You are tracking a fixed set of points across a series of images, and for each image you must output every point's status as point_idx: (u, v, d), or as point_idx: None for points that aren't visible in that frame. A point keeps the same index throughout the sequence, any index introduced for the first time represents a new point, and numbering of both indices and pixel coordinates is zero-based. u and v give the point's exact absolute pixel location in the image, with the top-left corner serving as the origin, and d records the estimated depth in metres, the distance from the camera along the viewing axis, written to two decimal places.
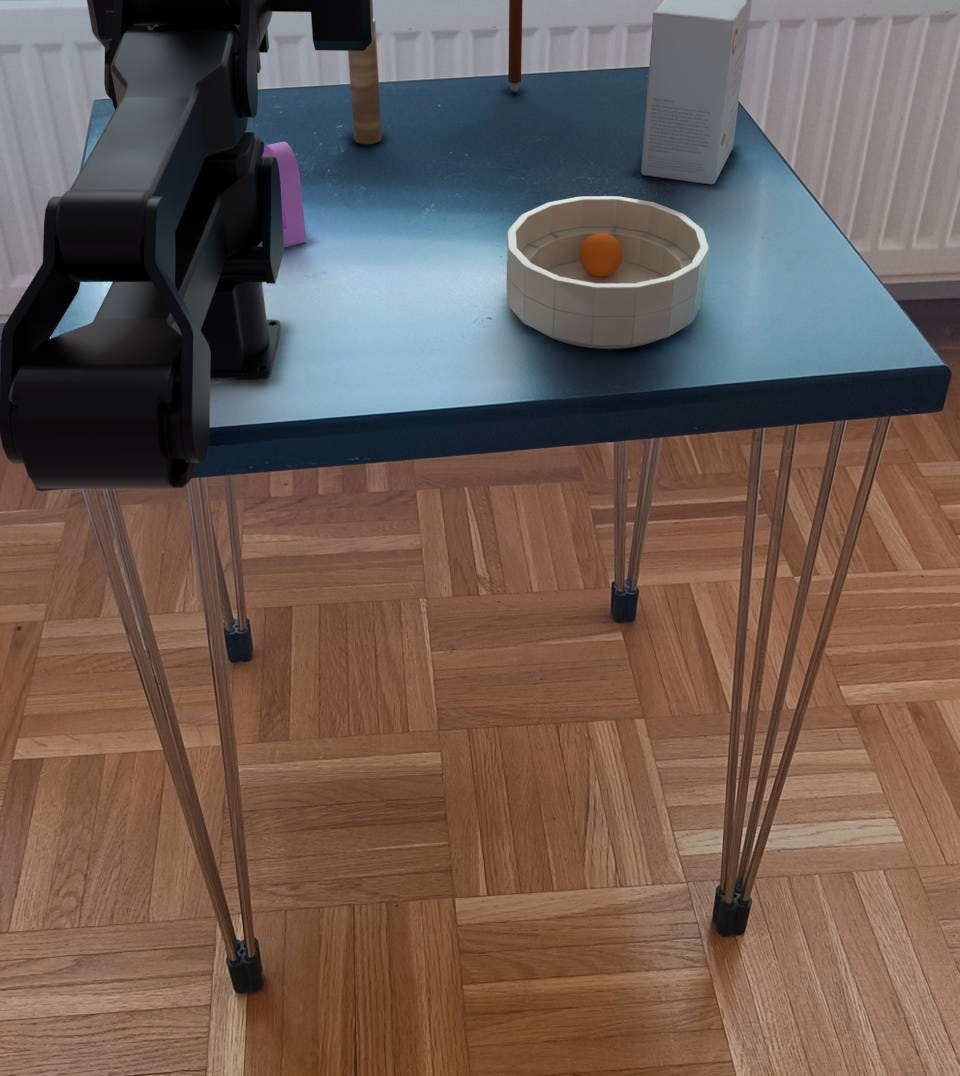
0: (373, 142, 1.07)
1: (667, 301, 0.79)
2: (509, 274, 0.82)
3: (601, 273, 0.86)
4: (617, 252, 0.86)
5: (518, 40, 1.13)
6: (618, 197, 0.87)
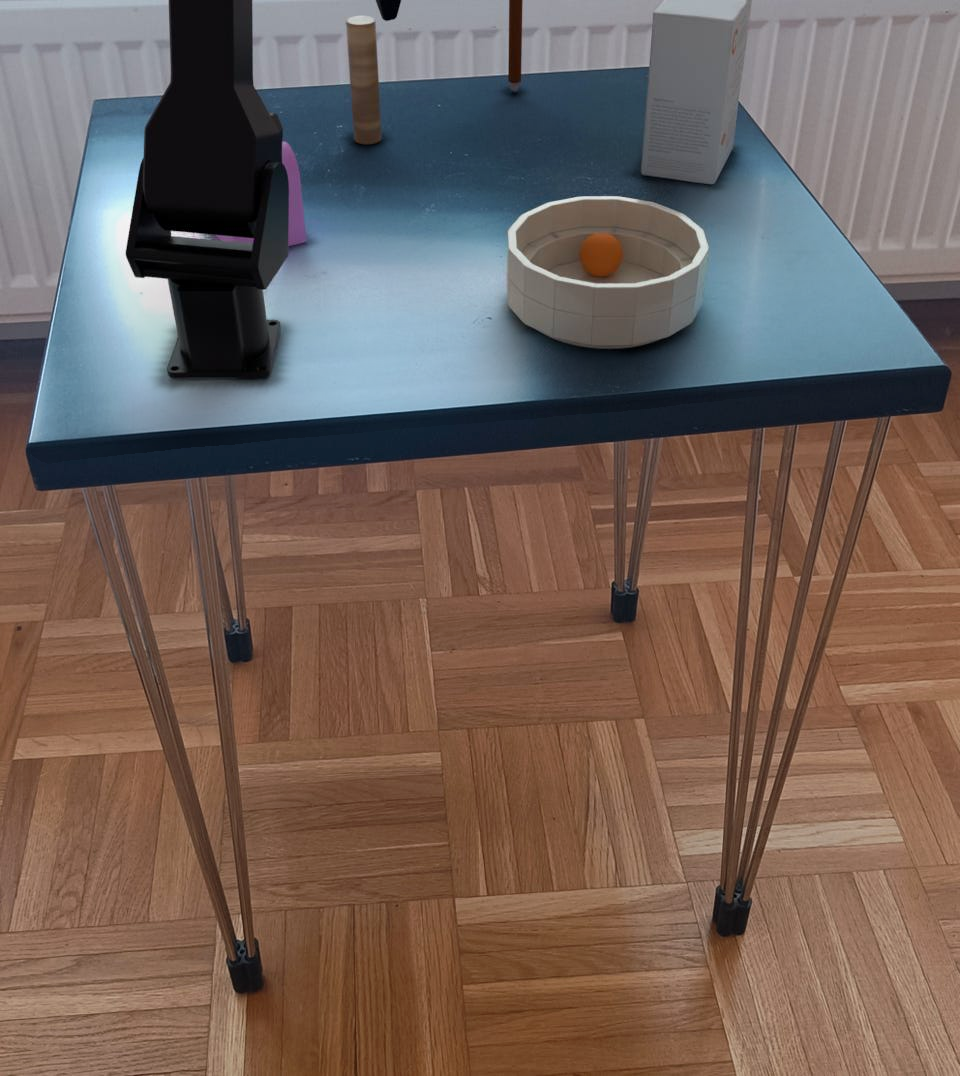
0: (373, 142, 1.07)
1: (667, 301, 0.79)
2: (509, 274, 0.82)
3: (601, 273, 0.86)
4: (617, 252, 0.86)
5: (518, 40, 1.13)
6: (618, 197, 0.87)
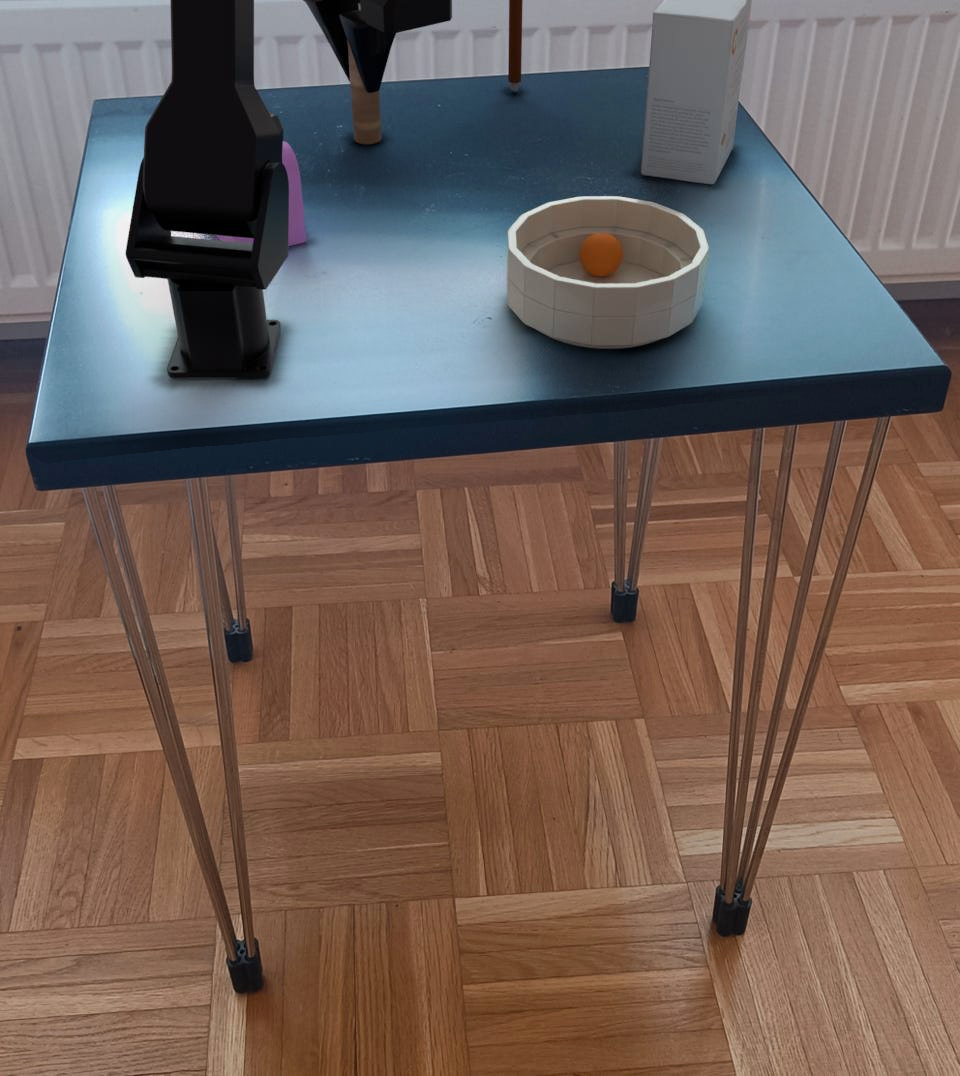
0: (373, 142, 1.07)
1: (667, 301, 0.79)
2: (509, 274, 0.82)
3: (601, 273, 0.86)
4: (617, 252, 0.86)
5: (518, 40, 1.13)
6: (618, 197, 0.87)
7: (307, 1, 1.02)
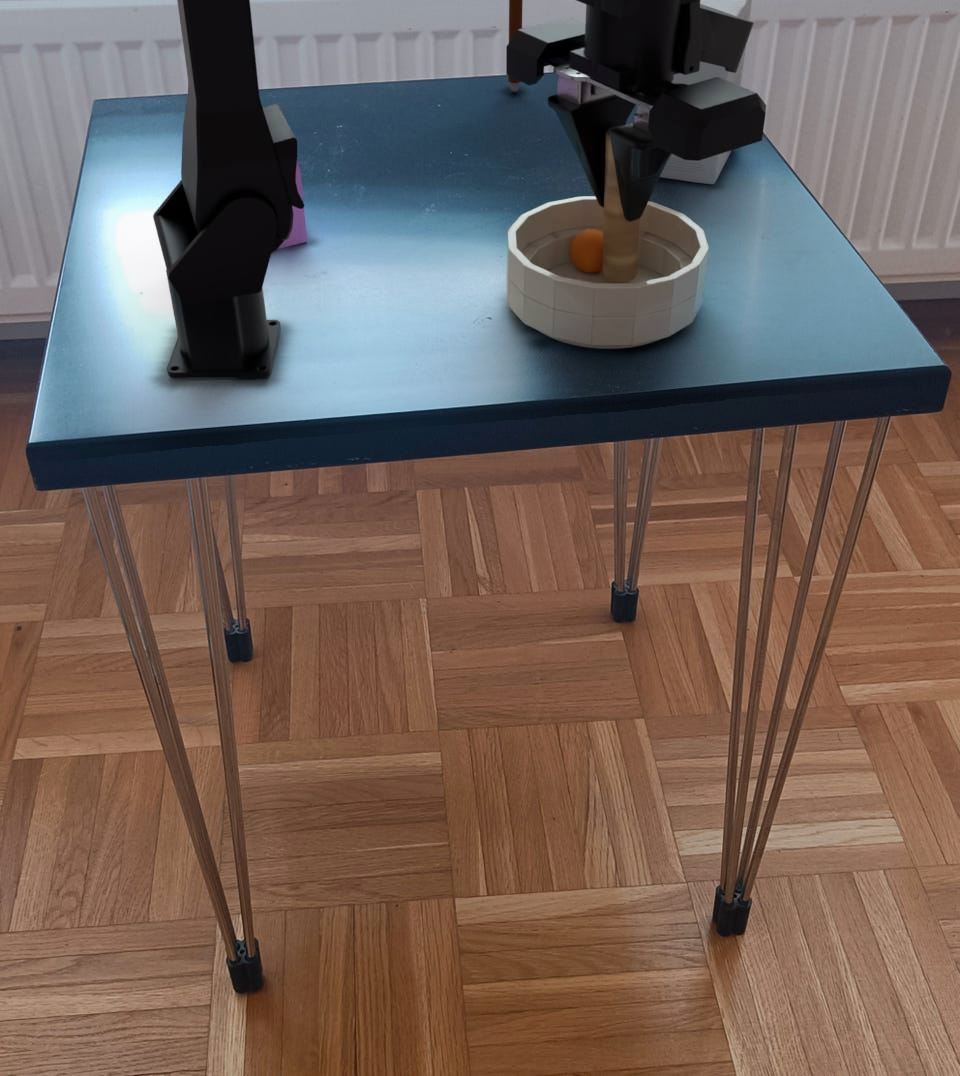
0: (629, 279, 0.85)
1: (667, 301, 0.79)
2: (509, 274, 0.82)
3: (594, 263, 0.86)
4: (602, 238, 0.86)
5: None
6: None
7: (557, 109, 0.80)
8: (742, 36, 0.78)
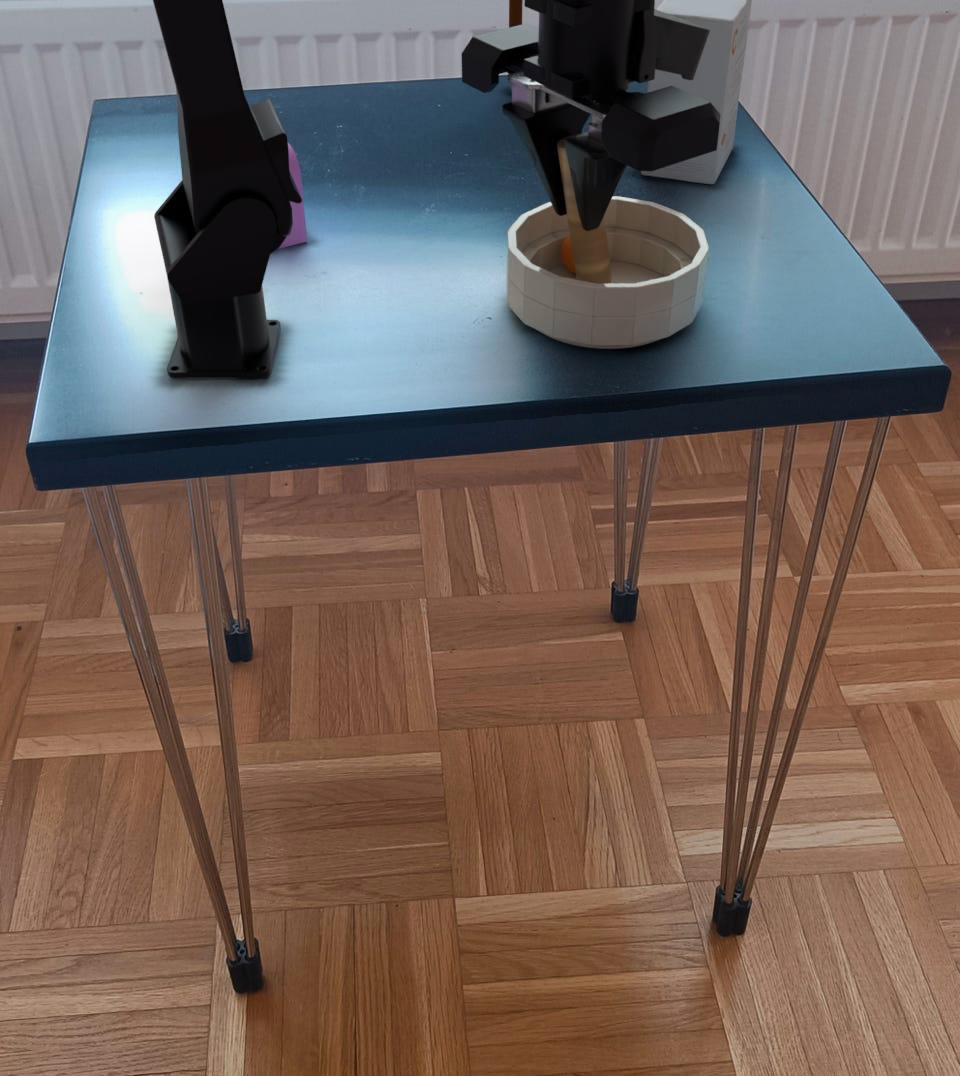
0: None
1: (667, 301, 0.79)
2: (509, 274, 0.82)
3: None
4: None
5: None
6: (618, 197, 0.87)
7: (512, 117, 0.79)
8: (698, 43, 0.77)
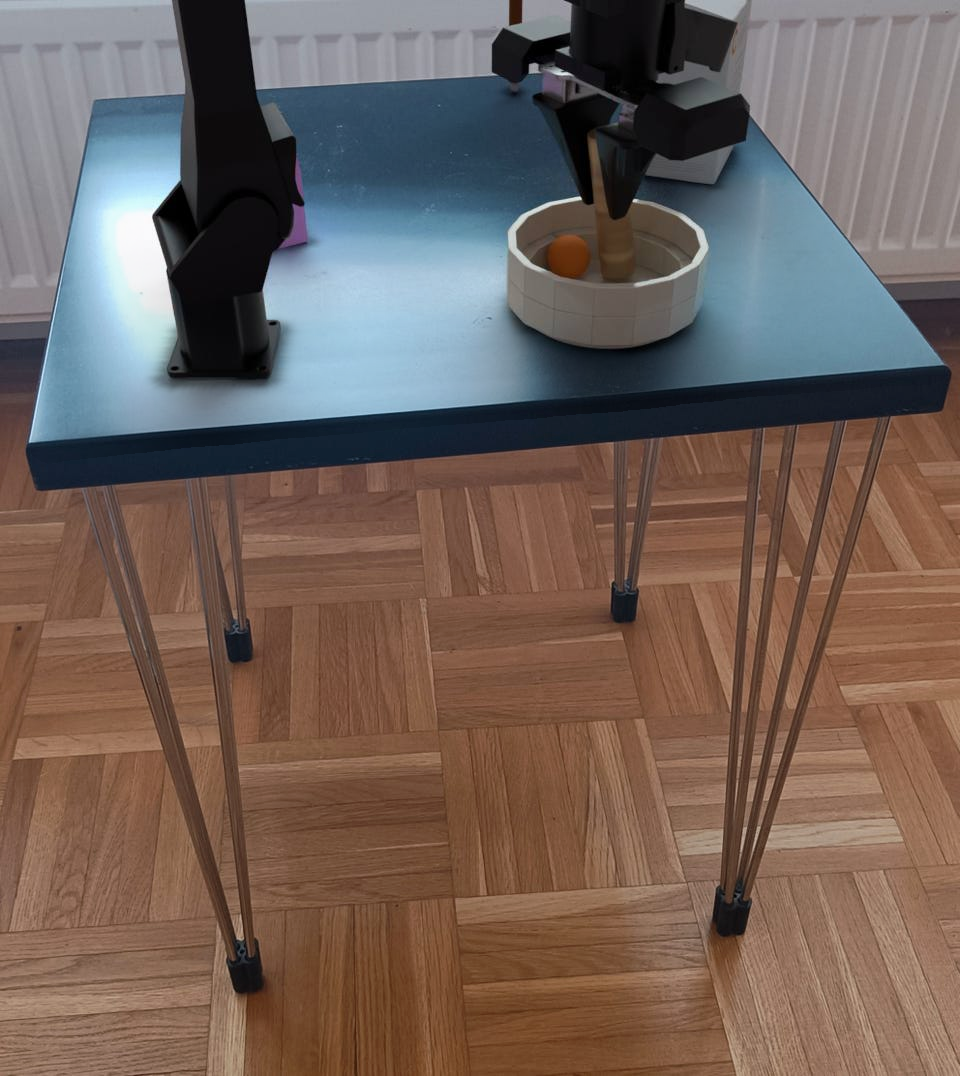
0: (621, 277, 0.86)
1: (667, 301, 0.79)
2: (509, 274, 0.82)
3: (574, 276, 0.86)
4: (568, 253, 0.85)
5: None
6: None
7: (542, 107, 0.80)
8: (726, 36, 0.78)
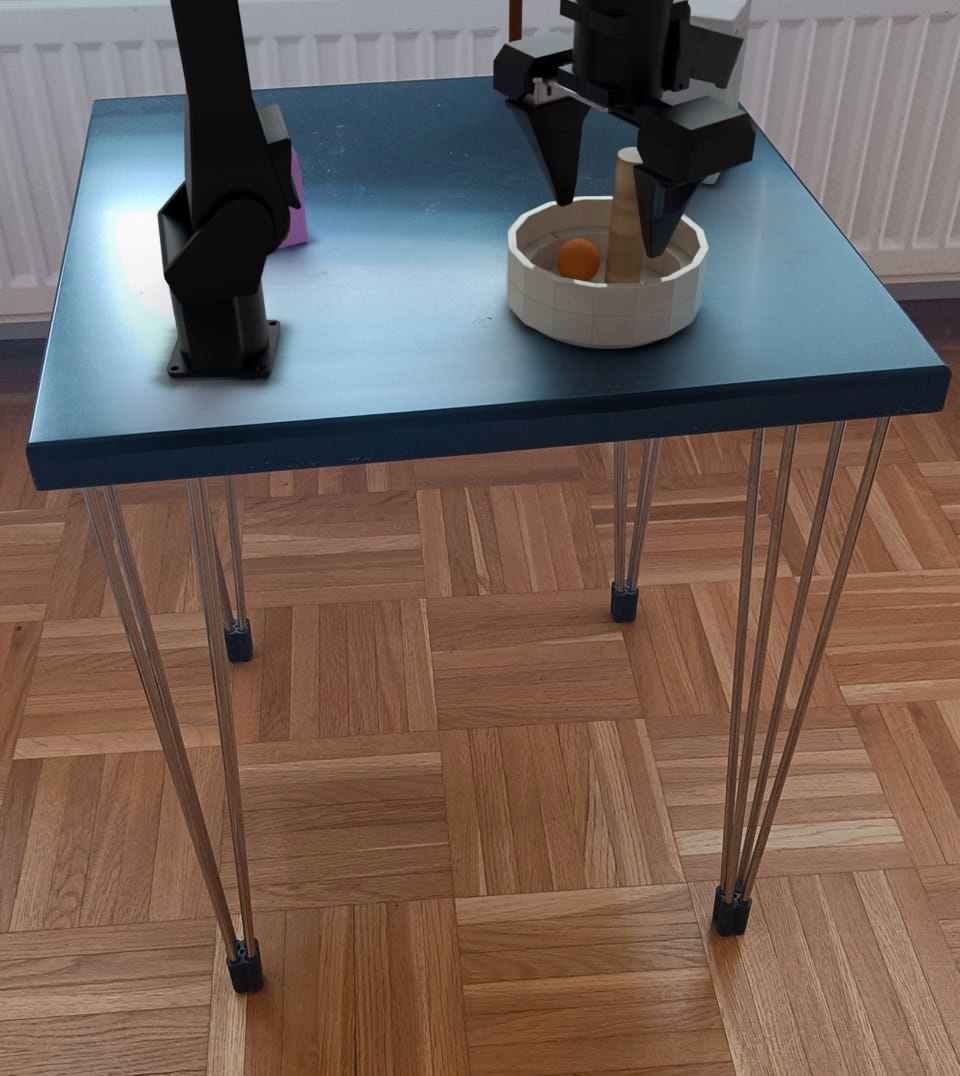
0: None
1: (667, 301, 0.79)
2: (509, 274, 0.82)
3: None
4: (581, 267, 0.85)
5: None
6: None
7: (514, 109, 0.81)
8: (732, 52, 0.77)
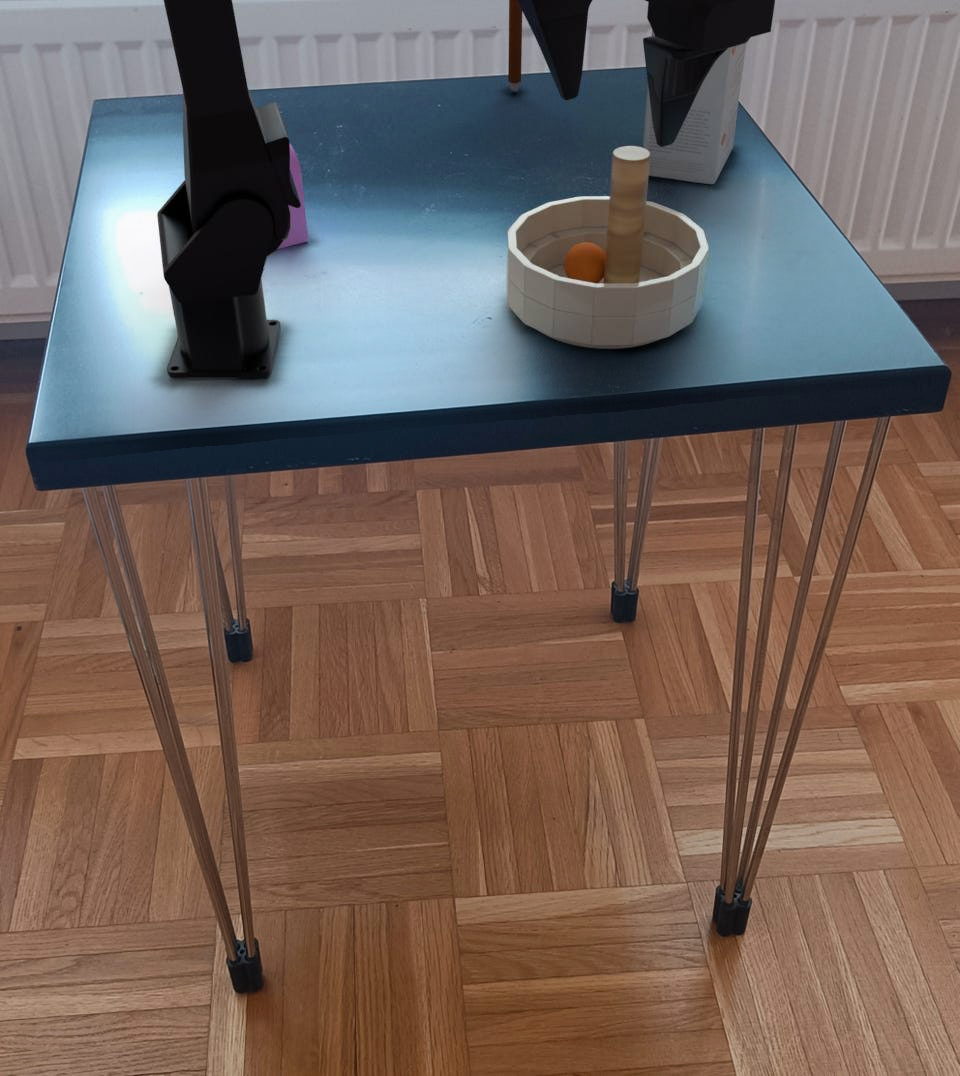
0: None
1: (667, 301, 0.79)
2: (509, 274, 0.82)
3: None
4: (588, 277, 0.85)
5: (518, 40, 1.13)
6: None
7: None
8: None
